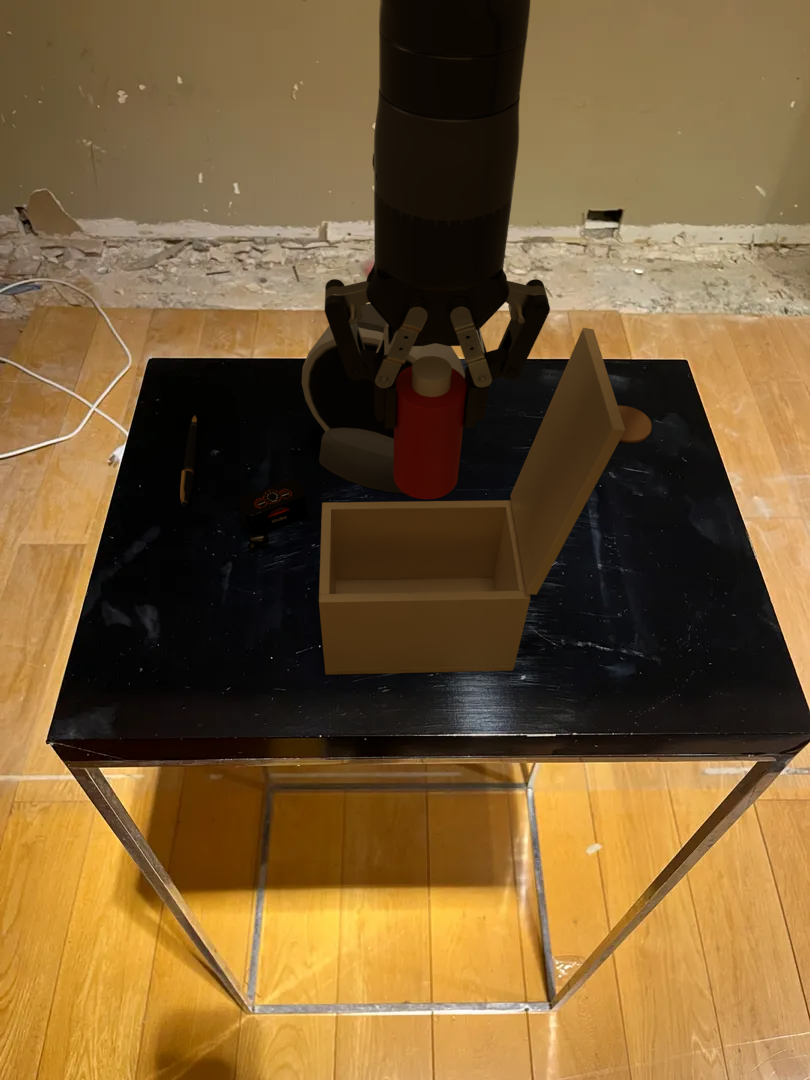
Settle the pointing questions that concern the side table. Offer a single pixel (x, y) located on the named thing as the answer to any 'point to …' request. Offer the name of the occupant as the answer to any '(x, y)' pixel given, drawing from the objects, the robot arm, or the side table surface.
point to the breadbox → (420, 587)
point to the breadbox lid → (565, 459)
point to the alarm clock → (356, 407)
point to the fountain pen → (189, 465)
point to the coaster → (634, 425)
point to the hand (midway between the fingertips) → (429, 419)
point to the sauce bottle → (428, 428)
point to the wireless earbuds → (271, 509)
